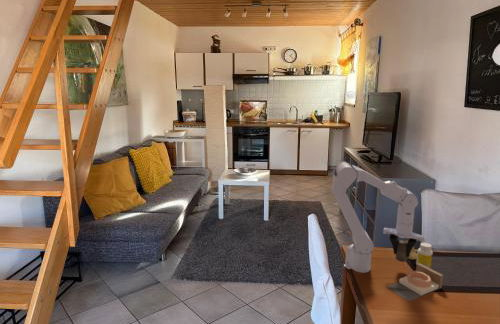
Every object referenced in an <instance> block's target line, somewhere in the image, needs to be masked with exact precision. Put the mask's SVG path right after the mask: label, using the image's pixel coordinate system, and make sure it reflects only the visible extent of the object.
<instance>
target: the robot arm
mask: <svg viewBox="0 0 500 324" xmlns="http://www.w3.org/2000/svg"><path fill="white" fill-rule="evenodd" d="M354 182H355V183H360V182H365V183H367V184H369V185H371V186H372V187H375V188H377V189H379V190H380V194H381V195H383V196H384V197H386V198H389V199H391V200H392V201H394V202H396V203H398V204H397V213H396V225H395V228H392V227H391V228H390V227H384V228H383V232H382V234H384V235H390V236H389V237H388V238H389V241H390V243H391V246H392V249H393V254H394V255H396V249H397V241H399V239H407V238H408V239H409V241H408V251H407V257H409V256H410V252H411V249H412V248H413V246H414V247H415V245H416V244H417V241H418V242H420V243H425V240H426V236H425V235H422V234H418V233H416V232H414V231H413V232H412V229H413V230H414V228H413V226H414V218H415V209H416V207H417V206H418V205H419V201H418V197H417V195H415V194H414V193H413V192H412V191H410V190H409V189H408V188H406V187H402V186H400V185H399V184H397V182H396V181H394V180H392V181H391V180H385V181H383V180H381V178H378V177H376V176H375V175H373V174H371V173H369V172H368V171H366V170H364V169H363V168H360V167H359V166H357V165H354V164H350V163H348V162H347V161H342V162H341V161H340V162H339V163H338V164H337V165H336V166H335V168H334V169H333V171H332V180H331V187H330V188H331V192H332V195H333V196H334V198H335V200H336V202H337V206H339V208H340V211H341V214H342V215H343V217H344V219H345V222H346V223H347V225H348V227H349V230H350V231H351V232H350V233H351V240H352V241H353V244H350V245H348V246H347V248H346V249H345V264H343V267H345V268H346V269H347V270H351V269H352V270H353V271H355V272H357V273H369V272H370V271H371V265H372V263H371V262H372V251H373V250H374V247H375V245H374V242H373V240H372V239H371V237H370V236H369V234H368V232H367V231H366V230H365V228H363V226H362V223H361V221H360V219H359V217H358V214H357V213H356V210H355V209H354V207H353V204H352V203H351V201H350V198H349V196H348V194H347V190H348V189H349V187H350V186H351V185H352V184H353V183H354Z"/></svg>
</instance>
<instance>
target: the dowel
mask: <svg viewBox="0 0 500 324" xmlns="http://www.w3.org/2000/svg"><path fill="white" fill-rule="evenodd" d="M407 251H408V242H406V240H403V239H402V240H401V239H400V240H399V239H398V241H397V249H396V254H395V260H396V261H398V262H401V263H405V262H407V261H408V258H407Z"/></svg>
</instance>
